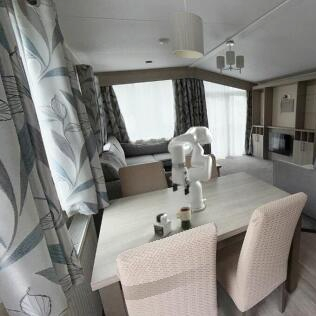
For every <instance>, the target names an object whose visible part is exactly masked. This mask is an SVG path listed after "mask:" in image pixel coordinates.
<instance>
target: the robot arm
mask: <svg viewBox="0 0 316 316" xmlns="http://www.w3.org/2000/svg"><path fill="white" fill-rule="evenodd" d="M212 141H213V136H212V133H211V131H210V130H209V128H208V127H206V126H191V127H190V128H188V129H187V130H186V132H185V133H183V134H180V135H178V136H175V137H173V138H172V139H171V140H170V141H169V143H168V145H167V150H168V152H169V153H170V156H171V157H170V158H171V176H169V177H168V179H169V180H170V181H169V182H170V183H171V186H172V192H173V193H176V192H177V191H178V187H179V186H180V185H181V186H183V187H184V190H183V192H184V196H188V197H189V205H187V207H190V209H191V210H192V209H193V212H201V211H203V210H204V209H205V207H206V206H205V204H204V203H205V202H207V199H206V198H204V199H203V190H202V189H203V187H202V183H201V182H209V181H210V180H211V176H212V168H213V167H212V166H213V158H212V156H211V155H209V154H204V152H205V150H204V148H203V146H201V144H202V145H203V144H204V145H205V144H206V145H210V144H211V143H212ZM189 154H191V158H190V166H191V167H190V168H188V167H187V163H186V155H189ZM178 185H179V186H178Z"/></svg>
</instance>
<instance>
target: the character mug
mask: <svg viewBox="0 0 316 316" xmlns="http://www.w3.org/2000/svg"><path fill="white" fill-rule="evenodd" d="M194 213H195V211H193V209H192V210H191V209H190V207H188V205H187V206H186V205H185V206H182V207H180V208H179V209H178V213H176V215H175V217H176V220H177V219H179V220H180V221H181V222H180V228H181V229H182V230H189V229H190V228H191V227H192V223H191V218H192V215H194Z"/></svg>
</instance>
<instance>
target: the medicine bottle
mask: <svg viewBox="0 0 316 316" xmlns="http://www.w3.org/2000/svg"><path fill="white" fill-rule="evenodd" d="M155 219H156V222H154V223H153V231H154V235H155V236H159V237H162V238H166V236H167V235H168V234H170V233H171V232H172V231H173V229H172V220H170V219H168V213H166V212H165V213H164V212H163V213H159V214H157V215H156V216H155Z"/></svg>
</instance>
